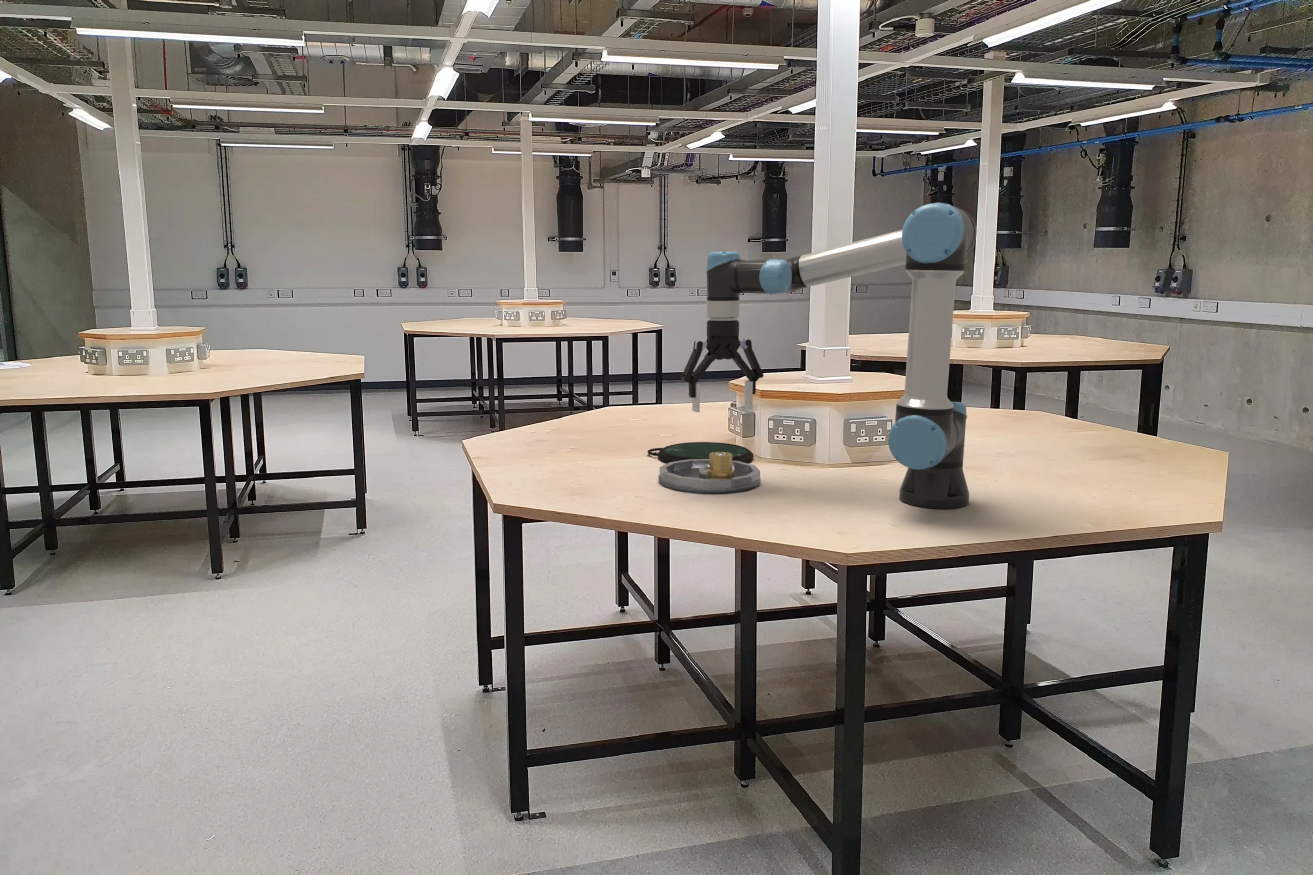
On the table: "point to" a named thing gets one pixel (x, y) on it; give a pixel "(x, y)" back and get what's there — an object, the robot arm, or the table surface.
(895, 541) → the table surface
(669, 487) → the carrier
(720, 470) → the brass hex pipe fitting
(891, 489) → the table surface
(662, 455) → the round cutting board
